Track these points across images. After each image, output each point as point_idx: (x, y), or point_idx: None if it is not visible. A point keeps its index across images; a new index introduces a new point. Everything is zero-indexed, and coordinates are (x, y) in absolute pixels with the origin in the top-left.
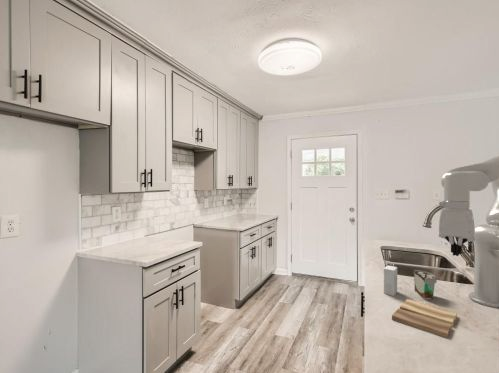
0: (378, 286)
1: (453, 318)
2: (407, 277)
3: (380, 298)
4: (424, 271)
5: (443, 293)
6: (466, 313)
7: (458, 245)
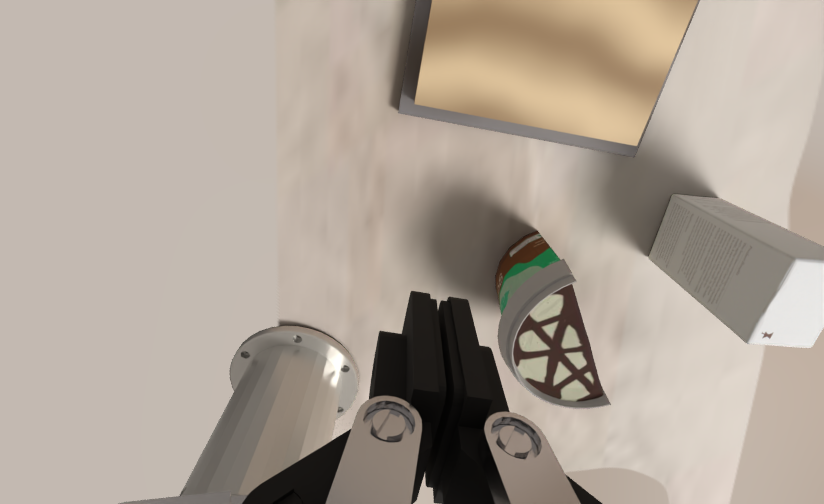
0: None
1: (435, 3)
2: (572, 461)
3: (744, 153)
4: (557, 404)
5: None
6: (373, 203)
7: (405, 412)
